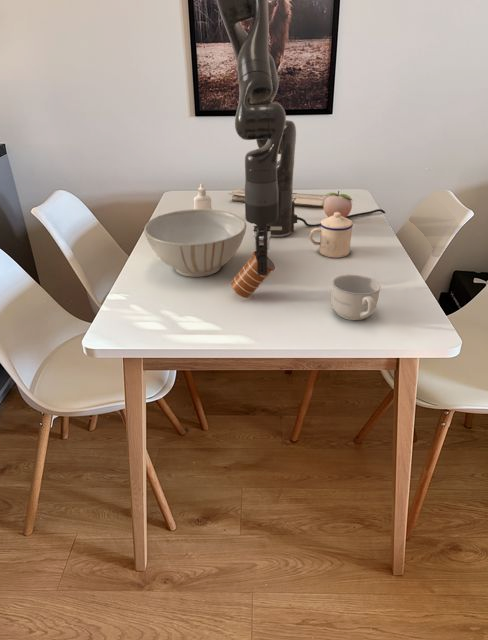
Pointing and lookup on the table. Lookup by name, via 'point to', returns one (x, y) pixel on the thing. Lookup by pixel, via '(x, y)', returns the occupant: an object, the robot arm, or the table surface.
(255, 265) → the brown striped cylinder
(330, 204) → the decorative fruit
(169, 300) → the table surface
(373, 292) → the teacup
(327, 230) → the teacup with lid
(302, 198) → the newspaper
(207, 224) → the decorative bowl
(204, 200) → the eye dropper bottle
